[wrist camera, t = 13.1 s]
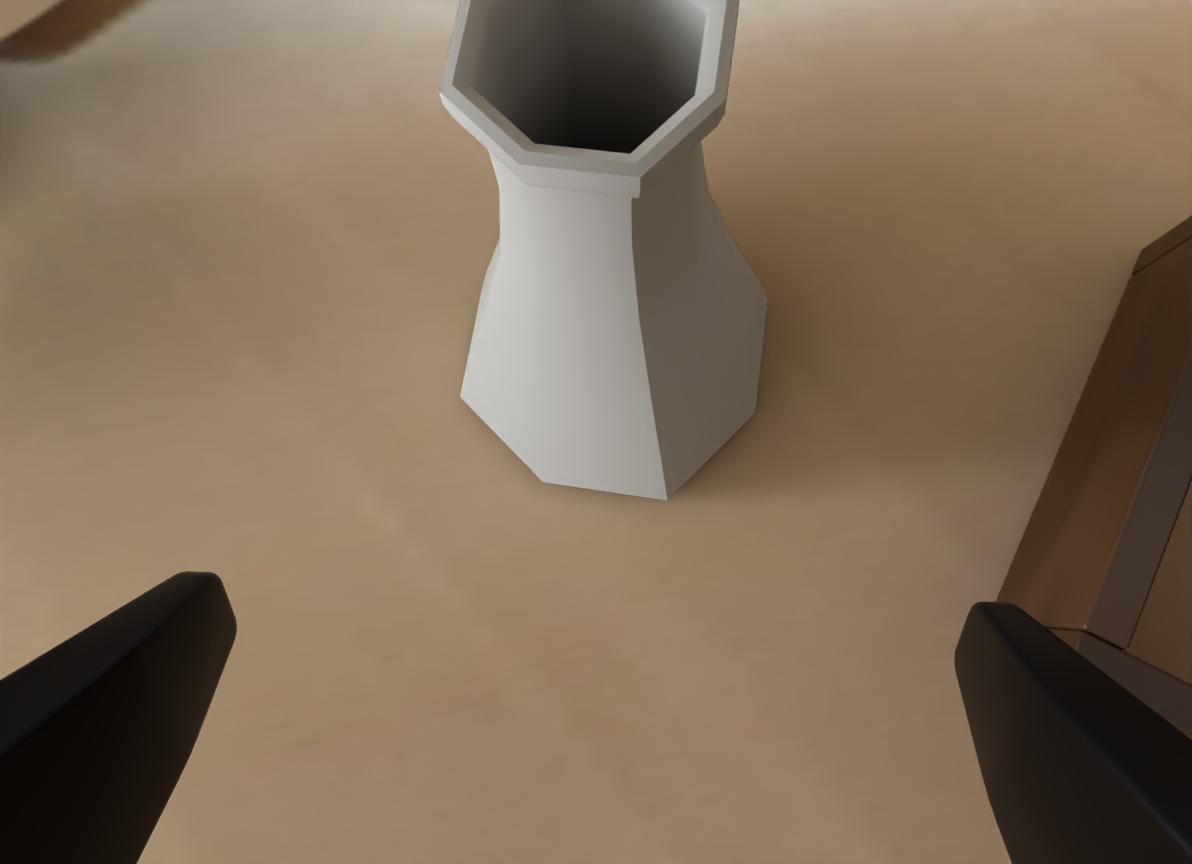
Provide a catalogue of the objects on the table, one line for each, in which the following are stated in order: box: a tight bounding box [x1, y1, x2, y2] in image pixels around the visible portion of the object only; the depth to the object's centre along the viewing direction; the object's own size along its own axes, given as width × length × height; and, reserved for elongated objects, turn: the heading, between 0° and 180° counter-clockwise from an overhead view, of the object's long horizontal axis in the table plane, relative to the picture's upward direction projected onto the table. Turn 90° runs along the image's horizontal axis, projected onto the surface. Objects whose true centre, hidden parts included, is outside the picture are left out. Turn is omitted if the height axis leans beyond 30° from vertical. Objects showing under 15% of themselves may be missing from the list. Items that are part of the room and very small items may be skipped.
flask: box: [439, 0, 768, 500], centre depth 13 cm, size 7×7×10 cm
